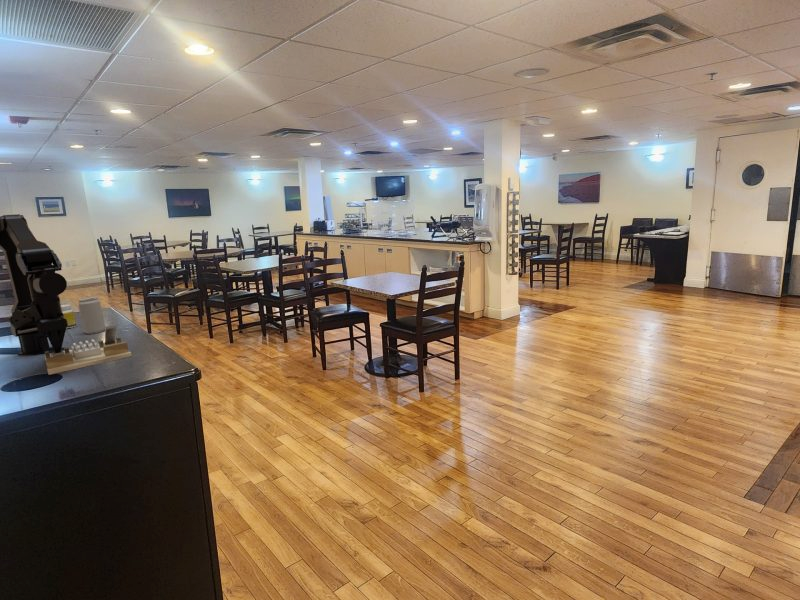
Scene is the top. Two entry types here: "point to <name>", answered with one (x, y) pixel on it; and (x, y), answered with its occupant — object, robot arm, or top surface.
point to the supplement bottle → (69, 315)
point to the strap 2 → (110, 335)
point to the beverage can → (91, 315)
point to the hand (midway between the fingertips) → (57, 352)
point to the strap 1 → (57, 353)
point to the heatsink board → (88, 361)
